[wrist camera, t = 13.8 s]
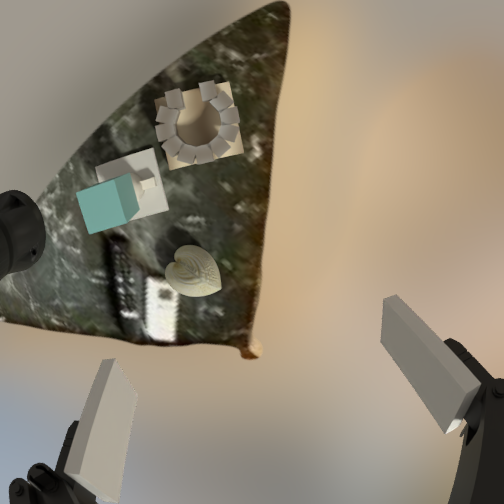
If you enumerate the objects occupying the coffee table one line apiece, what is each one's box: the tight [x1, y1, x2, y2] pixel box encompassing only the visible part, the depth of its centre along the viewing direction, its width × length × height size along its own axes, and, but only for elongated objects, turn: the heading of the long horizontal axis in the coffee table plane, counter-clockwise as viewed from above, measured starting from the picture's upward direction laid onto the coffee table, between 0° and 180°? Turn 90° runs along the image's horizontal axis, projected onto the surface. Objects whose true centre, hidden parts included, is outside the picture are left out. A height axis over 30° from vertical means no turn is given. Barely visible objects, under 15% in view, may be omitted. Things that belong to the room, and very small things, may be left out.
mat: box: [95, 148, 169, 221], centre depth 42 cm, size 10×10×1 cm
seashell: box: [165, 245, 221, 297], centre depth 46 cm, size 8×8×8 cm
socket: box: [154, 80, 244, 170], centre depth 38 cm, size 11×11×6 cm
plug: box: [76, 173, 157, 234], centre depth 36 cm, size 7×5×13 cm
